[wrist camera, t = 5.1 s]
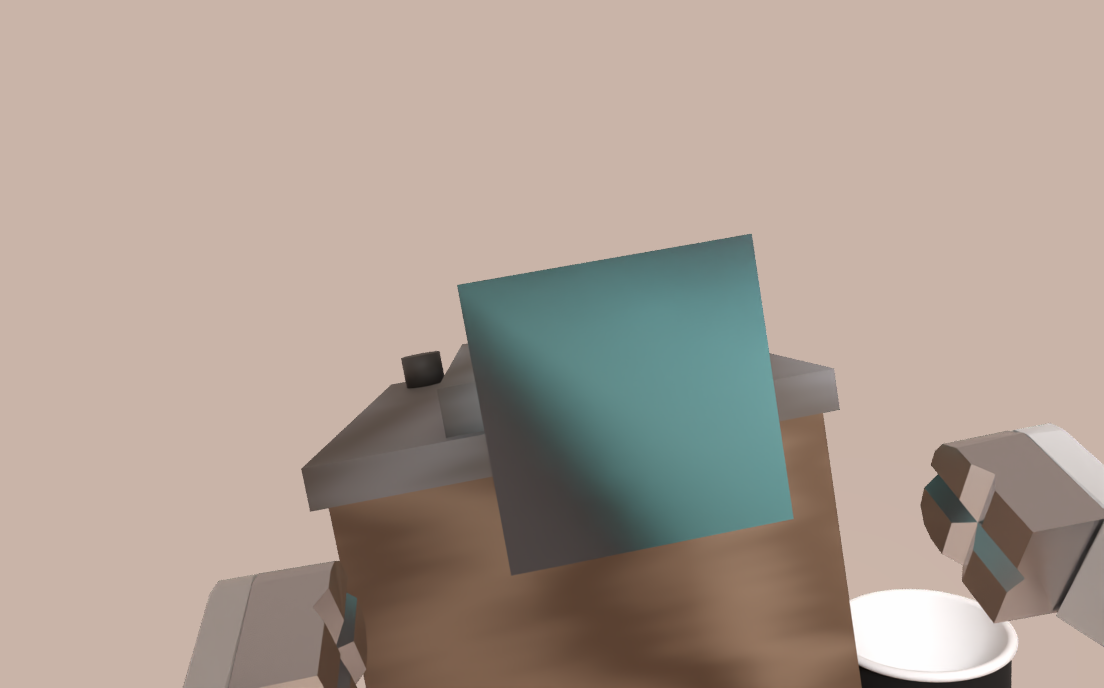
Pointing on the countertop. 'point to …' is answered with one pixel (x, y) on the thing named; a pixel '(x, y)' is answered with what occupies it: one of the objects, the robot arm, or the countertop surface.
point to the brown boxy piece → (580, 588)
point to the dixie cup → (930, 641)
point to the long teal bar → (627, 402)
